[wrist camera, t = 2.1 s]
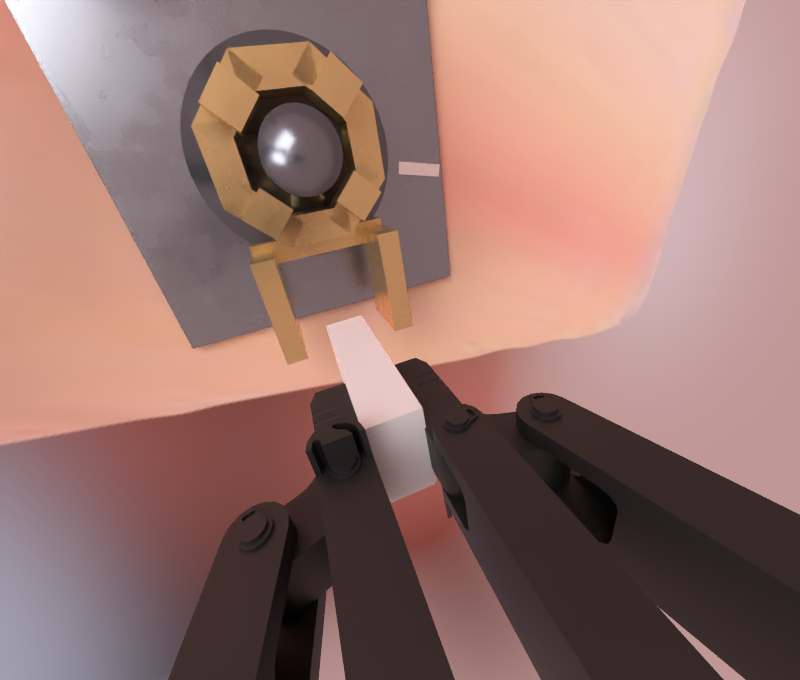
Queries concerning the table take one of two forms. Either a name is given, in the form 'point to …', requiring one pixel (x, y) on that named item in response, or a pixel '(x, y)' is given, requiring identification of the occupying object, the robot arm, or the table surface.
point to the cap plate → (150, 161)
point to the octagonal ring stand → (293, 232)
